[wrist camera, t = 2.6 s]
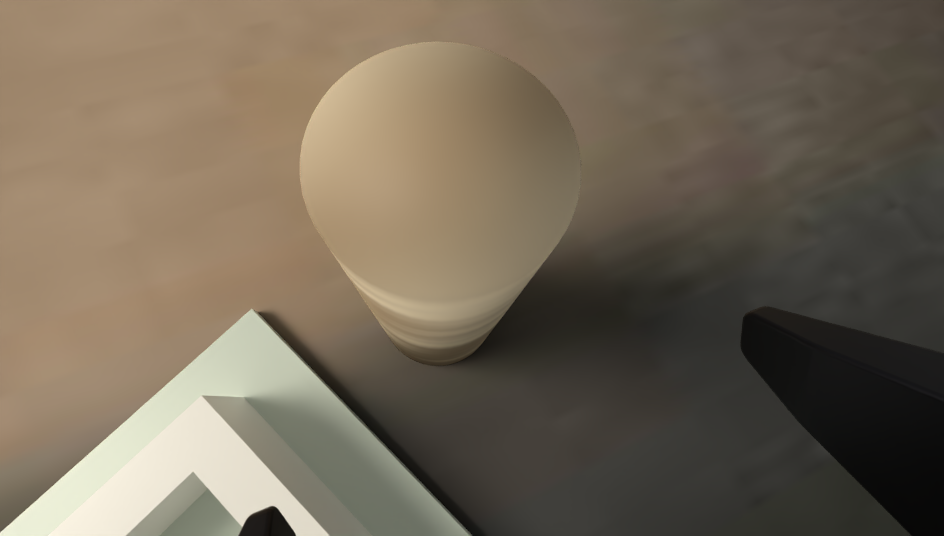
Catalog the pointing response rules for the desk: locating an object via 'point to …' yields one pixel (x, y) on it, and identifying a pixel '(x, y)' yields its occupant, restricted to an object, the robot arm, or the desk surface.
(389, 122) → the peg
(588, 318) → the desk surface
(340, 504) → the socket
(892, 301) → the desk surface
